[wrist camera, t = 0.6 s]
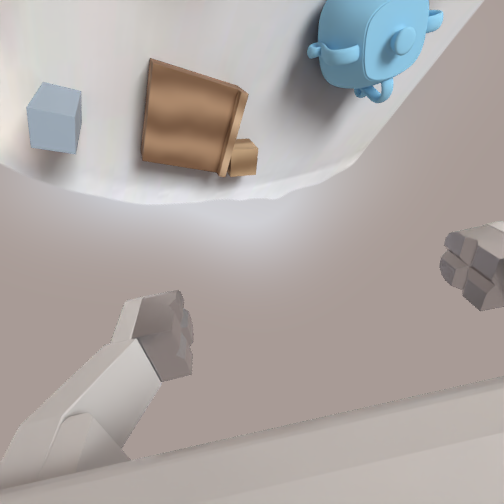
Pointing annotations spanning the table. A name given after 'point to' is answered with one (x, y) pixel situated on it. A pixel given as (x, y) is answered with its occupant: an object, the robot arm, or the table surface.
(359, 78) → the decorative pot
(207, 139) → the walnut plinth
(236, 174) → the stained oak block
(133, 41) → the table surface
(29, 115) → the slate-blue pillar block
